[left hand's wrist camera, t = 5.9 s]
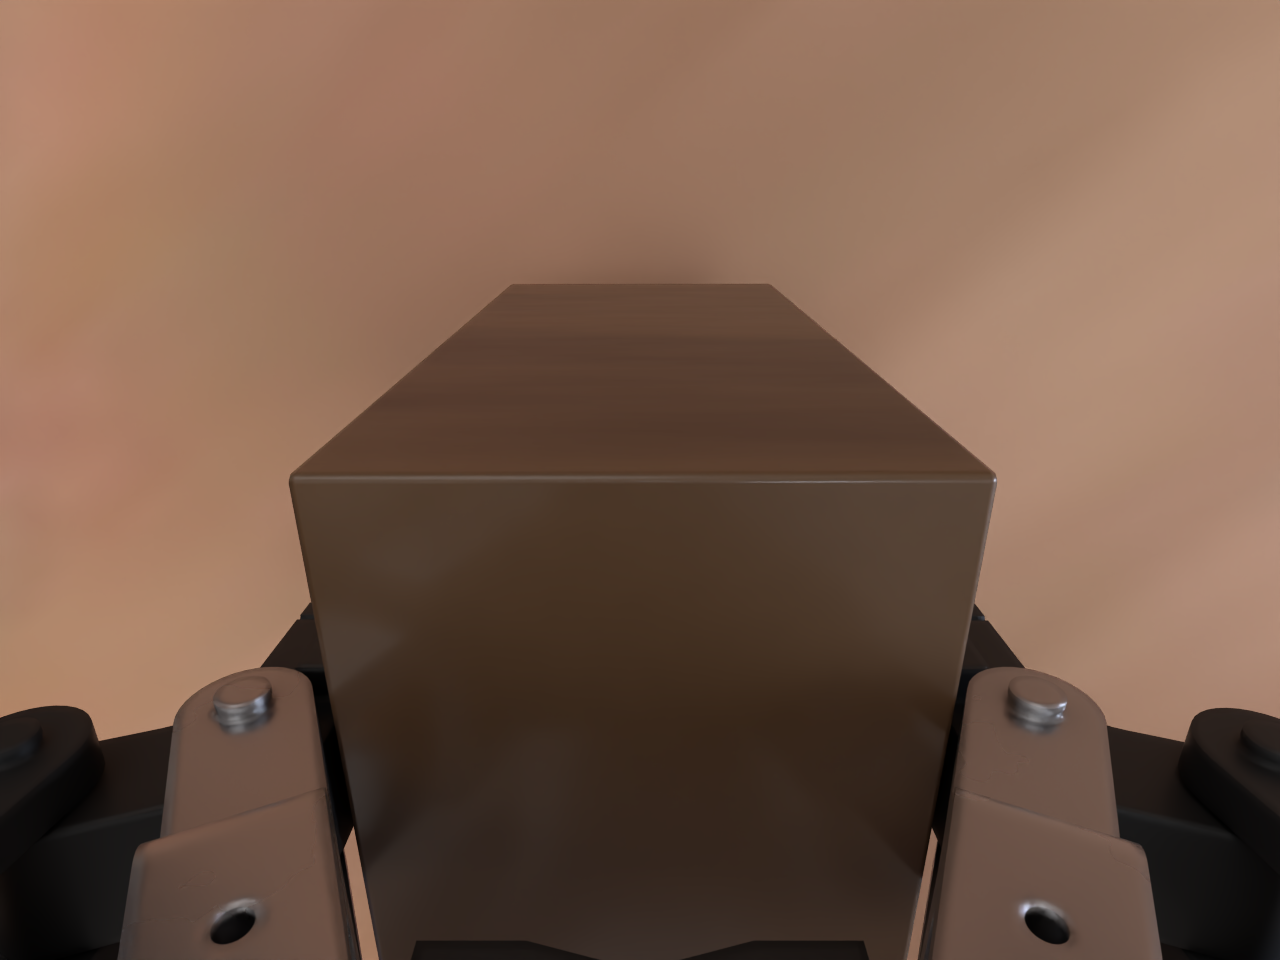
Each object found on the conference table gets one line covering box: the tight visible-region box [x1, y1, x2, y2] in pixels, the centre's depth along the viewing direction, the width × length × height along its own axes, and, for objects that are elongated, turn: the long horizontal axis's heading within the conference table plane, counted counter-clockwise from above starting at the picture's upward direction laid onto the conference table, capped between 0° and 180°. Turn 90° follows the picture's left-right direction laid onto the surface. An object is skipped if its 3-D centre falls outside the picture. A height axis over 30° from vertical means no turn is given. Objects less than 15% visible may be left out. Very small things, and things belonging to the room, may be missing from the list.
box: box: [289, 284, 997, 960], centre depth 16 cm, size 24×6×12 cm, turn 0°
